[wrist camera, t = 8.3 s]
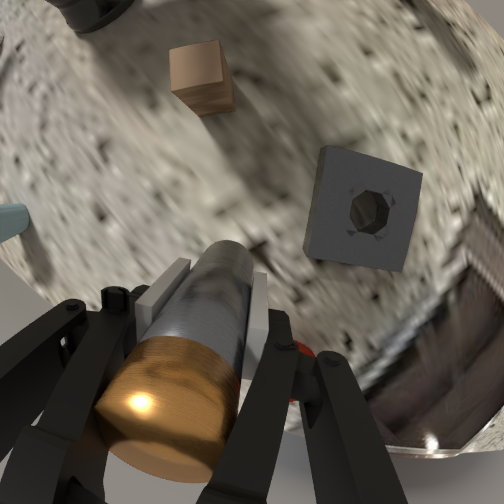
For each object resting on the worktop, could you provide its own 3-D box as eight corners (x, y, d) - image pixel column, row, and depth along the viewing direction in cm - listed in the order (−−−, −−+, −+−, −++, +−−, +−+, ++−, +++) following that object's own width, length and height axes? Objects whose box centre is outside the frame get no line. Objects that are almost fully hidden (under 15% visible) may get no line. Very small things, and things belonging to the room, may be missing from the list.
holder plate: (302, 248, 37) (306, 257, 33) (320, 148, 33) (327, 144, 30) (389, 263, 37) (401, 272, 33) (408, 173, 34) (422, 173, 30)
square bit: (198, 116, 33) (170, 91, 21) (196, 84, 32) (169, 49, 20) (235, 111, 33) (222, 81, 21) (231, 78, 31) (218, 39, 20)
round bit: (199, 284, 21) (105, 458, 6) (204, 235, 20) (75, 379, 5) (248, 294, 21) (224, 491, 6) (257, 245, 20) (242, 428, 5)
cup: (36, 231, 38) (-3, 245, 28) (16, 240, 39) (-19, 253, 29) (28, 193, 36) (-11, 200, 26) (9, 204, 37) (-27, 213, 27)
